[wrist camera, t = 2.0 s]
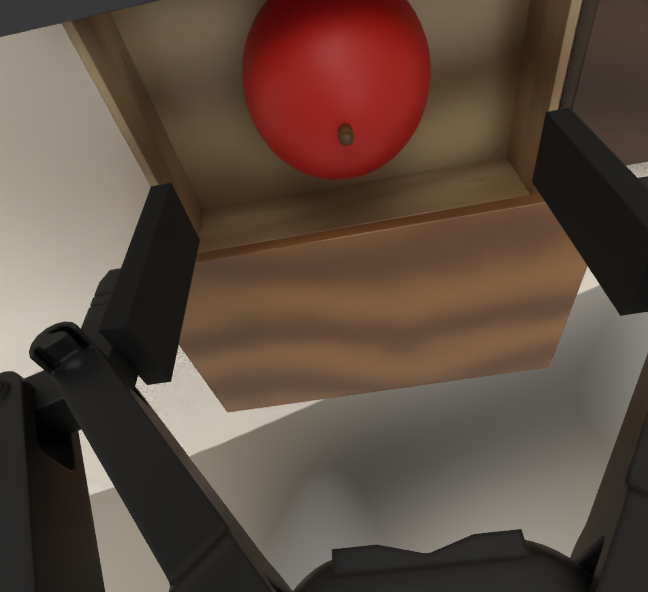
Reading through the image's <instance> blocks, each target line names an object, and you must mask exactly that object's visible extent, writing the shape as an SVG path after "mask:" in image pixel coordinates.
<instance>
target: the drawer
mask: <svg viewBox="0 0 648 592" xmlns="http://www.w3.org/2000/svg"><path fill="white" fill-rule="evenodd" d="M266 1H267V0H0V37H3V36H7V35H12V34H16V33H20V32H25V31H29V30H33V29H38V28H42V27H47V26H51V25H55V24H60V23H62V25H63V27H64V29H65V30H66V32H67V34H68V36H69V38H70V40H71V41H72V43H73V45H74V47H75V49H76V50H77V52H78V54H79V56H80V58H81V60H82V61H83V63H84V65H85V67H86V69H87V71H88V72H89V74H90V76H91V78H92V80H93V81H94V83H95V85H96V87H97V89H98V91H99V92H100V94H101V96H102V98H103V100H104V102H105V103H106V105H107V107H108V109H109V111H110V112H111V114H112V116H113V118H114V120H115V122H116V123H117V125H118V127H119V129H120V131H121V133H122V134H123V136H124V138H125V140H126V142H127V143H128V145H129V147H130V149H131V151H132V153H133V154H134V156H135V158H136V160H137V162H138V164H139V165H140V167H141V169H142V171H143V173H144V174H145V176H146V178H147V180H148V182H149V184H150V185H151V186H156V185H161V184H166V183H172V185H173V187H174V189H175V191H176V193H177V195H178V197H179V199H180V201H181V203H182V205H183V207H184V209H185V211H186V213H187V215H188V217H189V219H190V221H191V223H192V225H193V227H194V229H195V231H196V233H197V235H198V237H199V239H200V243H199V248H198V253H201V252H207V251H212V250H218V249H224V248H229V247H235V246H241V245H247V244H252V243H258V242H264V241H270V240H275V239H281V238H287V237H292V236H298V235H304V234H310V233H315V232H321V231H327V230H333V229H338V228H344V227H350V226H355V225H361V224H367V223H373V222H378V221H384V220H390V219H396V218H401V217H407V216H413V215H418V214H424V213H430V212H436V211H441V210H447V209H453V208H459V207H464V206H470V205H476V204H481V203H487V202H493V201H499V200H504V199H510V198H516V197H521V196H527V195H533V194H539V192H538V190H537V189H536V187H535V186H534V184H533V183H532V179H533V174H534V169H535V164H536V159H537V154H538V149H539V144H540V139H541V134H542V129H543V124H544V119H545V114H546V112H548V111H553V110H558V106H559V101H560V97H561V92H562V88H563V83H564V79H565V74H566V70H567V65H568V61H569V56H570V52H571V48H572V43H573V39H574V34H575V30H576V25H577V21H578V16H579V12H580V7H581V3H582V0H407V1H408V2H409V3H410V5H411V6H412V8H413V9H414V10H415V12H416V14H417V16H418V18H419V20H420V22H421V24H422V27H423V30H424V33H425V36H426V39H427V42H428V47H429V52H430V67H431V75H430V86H429V92H428V97H427V102H426V106H425V109H424V112H423V115H422V118H421V121H420V123H419V125H418V127H417V129H416V131H415V132H414V134H413V136H412V137H411V139H410V140H409V141H408V143H407V144H406V145H405V147H404V148H403V149H402V150H401V151H400V152H399V153H398V154H397V155H396V156H395V157H394V158H393V159H392V160H390V161H389V162H388V163H386V164H385V165H383V166H382V167H380V168H378V169H376V170H374V171H372V172H370V173H368V174H365V175H362V176H359V177H355V178H350V179H342V180H330V179H322V178H317V177H313V176H310V175H307V174H304V173H302V172H300V171H298V170H296V169H294V168H293V167H291V166H290V165H288V164H287V163H285V162H284V161H283V160H281V159H280V158H279V157H278V156H277V155H276V154H275V153H274V152H273V151H272V150H271V149H270V148H269V146H268V145H267V144H266V142H265V141H264V139H263V138H262V137H261V135H260V133H259V132H258V130H257V128H256V126H255V124H254V123H253V121H252V118H251V116H250V113H249V110H248V108H247V105H246V101H245V97H244V92H243V84H242V59H243V52H244V47H245V43H246V40H247V36H248V33H249V31H250V28H251V26H252V24H253V21H254V19H255V17H256V15H257V14H258V12H259V10H260V9H261V7H262V6H263V4H264V3H265V2H266Z"/></svg>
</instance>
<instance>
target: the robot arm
mask: <svg viewBox="0 0 648 592" xmlns="http://www.w3.org/2000/svg"><path fill="white" fill-rule="evenodd" d="M532 183H533V184H534V186H535V187H536V189H537V190H538V192H539V193H540V195H541V196H542V198H543V199H544V201H545V202H546V204H547V205H548V207H549V209H550V210H551V212H552V213H553V215H554V216H555V218H556V219H557V221H558V222H559V224H560V225H561V227H562V228H563V230H564V231H565V233H566V234H567V236H568V237H569V239H570V240H571V242H572V243H573V245H574V246H575V248H576V249H577V251H578V252H579V254H580V255H581V257H582V258H583V260H584V261H585V263H586V264H587V266H588V267H589V269H590V270H591V272H592V273H593V275H594V276H595V278H596V279H597V281H598V282H599V284H600V285H601V287H602V288H603V290H604V291H605V293H606V294H607V296H608V297H609V299H610V301H611V302H612V304H613V305H614V306H615V308H616V309H617V311H618V313H619V314H620V315H621V316H622V315H628V314H635V313H642V312H648V176H647V177H641V178H637V177H636V176H635V175H634V174H633V173H632V172H631V171H630V170H629V169H628V168H627V167H626V166H625V165H624V164H623V163H622V162H621V160H620V159H619V158H618V157H617V156H616V155H615V154H614V153H613V152H612V151H611V150H610V149H609V148H608V147H607V146H606V145H605V144H604V143H603V142H602V141H601V140H600V139H599V138H598V136H597V135H596V134H595V133H594V132H593V131H592V130H591V129H590V128H589V127H588V126H587V125H586V124H585V123H584V122H583V121H582V120H581V119H580V118H579V117H578V116H577V115H576V114H575V113H574V111H573V110H572V109H571V108H570V107H569V108H564V109H558V110H553V111H548V112H546V114H545V119H544V124H543V129H542V134H541V139H540V144H539V149H538V154H537V159H536V164H535V169H534V174H533V179H532ZM199 243H200V239H199V237H198V235H197V233H196V231H195V229H194V227H193V225H192V223H191V221H190V219H189V217H188V215H187V213H186V211H185V209H184V207H183V205H182V203H181V201H180V199H179V197H178V195H177V193H176V191H175V189H174V187H173V185H172V183H166V184H161V185H156V186H151V188H150V191H149V194H148V196H147V199H146V202H145V205H144V207H143V210H142V213H141V215H140V218H139V221H138V224H137V226H136V229H135V232H134V235H133V237H132V240H131V243H130V245H129V248H128V251H127V254H126V256H125V259H124V262H123V264H122V267H121V268H120V269H114V270H110V271H109V272H108V273H107V274H106V275H105V277H104V278H103V279H102V280H101V281H100V282H99V285H98V287H97V290H96V292H95V297H94V298H93V300H92V302H91V305H90V306H91V308H89V310H88V312H87V315H86V317H85V320H84V322H83V325H82V327H81V329H80V328H79V327H78V326H77V325H76V324H74V323H73V322H61V323H57V324H54V325H52V326H50V327H49V328H47V329H45V330H44V331H43V332H42V333H40V334H39V335H38V336H37V337H36V339H35V340H34V341H33V342H32V344H31V347H30V350H29V355H30V358H31V359H32V360H33V361H34V362H35V363H37V364H38V365H39V366H40V367H41V368H43V369H44V370H43V371H41V372H39V373H36V374H34V375H32V376H29V377H27V378H25V379H24V378H23V377H21V376H20V375H19V374H17V373H15V372H13V371H8V372H2V373H0V592H105V588H104V582H103V576H102V570H101V564H100V558H99V552H98V547H97V540H96V534H95V529H94V522H93V516H92V510H91V505H90V499H89V492H88V486H87V480H86V475H85V469H84V463H83V457H82V451H81V445H80V439H79V433H78V431H79V430H81V429H82V431H83V433H84V435H85V436H86V438H87V440H88V441H89V443H90V445H91V447H92V448H93V450H94V452H95V454H96V455H97V457H98V459H99V461H100V462H101V464H102V466H103V467H104V469H105V471H106V473H107V474H108V476H109V478H110V480H111V481H112V483H113V485H114V487H115V488H116V490H117V492H118V493H119V495H120V497H121V498H122V500H123V502H124V504H125V505H126V507H127V509H128V511H129V513H130V514H131V516H132V518H133V519H134V521H135V523H136V525H137V526H138V528H139V530H140V531H141V533H142V535H143V537H144V539H145V540H146V542H147V544H148V545H149V547H150V549H151V551H152V552H153V554H154V556H155V558H156V559H157V561H158V563H159V564H160V566H161V568H162V570H163V571H164V573H165V575H166V577H167V579H168V581H169V583H170V590H169V592H648V354H647V357H646V360H645V362H644V365H643V368H642V371H641V374H640V376H639V379H638V382H637V385H636V388H635V390H634V393H633V396H632V398H631V401H630V404H629V407H628V410H627V412H626V415H625V418H624V421H623V424H622V426H621V429H620V432H619V435H618V437H617V440H616V443H615V446H614V449H613V451H612V454H611V457H610V460H609V462H608V465H607V468H606V471H605V473H604V476H603V479H602V482H601V485H600V487H599V490H598V493H597V495H596V498H595V501H594V504H593V507H592V509H591V512H590V515H589V518H588V520H587V523H586V525H585V527H584V529H583V531H582V533H581V535H580V537H579V539H578V541H577V543H576V545H575V547H574V549H573V552H572V554H571V557H570V558H569V557H567V556H565V555H563V554H562V553H560V552H558V551H556V550H554V549H552V548H550V547H547V546H545V545H542V544H539V543H535V542H532V541H527V540H525V539H524V536H523V533H522V530H521V529H518V530H509V531H499V532H490V533H481V534H473V535H471V536H468V537H466V538H464V539H461V540H459V541H457V542H454V543H452V544H450V545H447V546H445V547H443V548H441V549H438V550H436V551H433V552H431V553H419V552H414V551H408V550H403V549H398V548H392V547H386V546H381V545H369V546H359V547H351V548H341V549H332V560H330V561H328V562H326V563H324V564H322V565H321V566H319V567H318V568H316V569H314V570H313V571H312V572H311V573H310V574H309V575H307V576H306V577H305V578H304V579H303V580H302V581H301V582H300V583H299V584H298V585H297V587H296V588H295V590H294V591H292V590H291V589H290V587H289V586H288V585H287V584H286V582H285V581H284V579H283V578H282V577H281V576H280V574H279V573H278V572H277V571H276V570H275V569H274V567H273V566H272V565H271V564H270V563H269V562H268V561H267V559H266V558H265V557H264V556H263V554H262V553H261V552H260V551H259V549H258V548H257V547H256V545H255V544H254V542H253V541H252V540H251V538H250V537H249V536H248V535H247V533H246V532H245V530H244V529H243V528H242V527H241V525H240V524H239V523H238V521H237V520H236V519H235V518H234V516H233V515H232V513H231V512H230V511H229V509H228V508H227V507H226V505H225V504H224V503H223V501H222V500H221V499H220V497H219V496H218V495H217V493H216V492H215V491H214V489H213V488H212V487H211V485H210V484H209V483H208V481H207V480H206V479H205V478H204V476H203V475H202V474H201V472H200V471H199V470H198V468H197V467H196V466H195V464H194V463H193V462H192V460H191V459H190V458H189V456H188V455H187V454H186V452H185V451H184V450H183V448H182V447H181V446H180V444H179V443H178V442H177V440H176V439H175V438H174V436H173V435H172V434H171V432H170V431H169V430H168V428H167V427H166V426H165V424H164V423H163V422H162V420H161V419H160V418H159V417H158V415H157V414H156V413H155V411H154V410H153V409H152V407H151V406H150V405H149V403H148V402H147V401H146V399H145V398H144V397H143V395H142V394H141V393H140V391H139V390H138V389H137V388H136V387H135V385H136V381H137V377H138V375H139V377H140V378H141V379H142V380H143V381H144V382H145V383H146V384H147V385H151V384H157V383H164V382H171V379H172V374H173V369H174V364H175V359H176V355H177V350H178V345H179V340H180V335H181V330H182V325H183V321H184V316H185V311H186V306H187V301H188V296H189V291H190V287H191V282H192V277H193V272H194V267H195V262H196V257H197V253H198V248H199Z"/></svg>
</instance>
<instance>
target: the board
mask: <svg viewBox="0 0 648 592" xmlns="http://www.w3.org/2000/svg"><path fill="white" fill-rule="evenodd" d="M569 107H570V108H571V109H572V110H573V111H574V113H575V114H576V115H577V116H578V117H579V118H580V119H581V120H582V121H583V122H584V123H585V124H586V125H587V126H588V127H589V128H590V129H591V130H592V131H593V132H594V133H595V134H596V135H597V136H598V138H599V139H600V140H601V141H602V142H603V143H604V144H605V145H606V146H607V147H608V148H609V149H610V150H611V151H612V152H613V153H614V154H615V155H616V156H617V157H618V158H619V159H620V160H621V162H622V163H623V164H624V165H630V164H636V163H642V162H647V161H648V0H583V5H582V9H581V13H580V18H579V22H578V27H577V31H576V36H575V40H574V44H573V49H572V53H571V58H570V62H569V67H568V71H567V75H566V80H565V84H564V89H563V93H562V98H561V102H560V107H559V109H564V108H569Z"/></svg>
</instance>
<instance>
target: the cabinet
mask: <svg viewBox="0 0 648 592" xmlns="http://www.w3.org/2000/svg"><path fill="white" fill-rule="evenodd" d="M586 269H587V264H586V263H585V261H584V260H583V258H582V257H581V255H580V254H579V252H578V251H577V249H576V248H575V246H574V245H573V243H572V242H571V240H570V239H569V237H568V236H567V234H566V233H565V231H564V230H563V228H562V227H561V225H560V224H559V222H558V221H557V219H556V218H555V216H554V215H553V213H552V212H551V210H550V209H549V207H548V205H547V204H546V202H545V201H544V199H543V198H542V196H541V195H540V193H539V194H533V195H527V196H521V197H516V198H510V199H504V200H499V201H493V202H487V203H481V204H476V205H470V206H464V207H459V208H453V209H447V210H441V211H436V212H430V213H424V214H418V215H413V216H407V217H401V218H396V219H390V220H384V221H378V222H373V223H367V224H361V225H355V226H350V227H344V228H338V229H333V230H327V231H321V232H315V233H310V234H304V235H298V236H292V237H287V238H281V239H275V240H270V241H264V242H258V243H252V244H247V245H241V246H235V247H229V248H224V249H218V250H212V251H207V252H201V253H197V257H196V262H195V267H194V272H193V277H192V282H191V287H190V291H189V296H188V301H187V306H186V311H185V316H184V321H183V325H182V330H181V335H180V340H179V345H180V347H181V348H182V350H183V351H184V352H185V354H186V355H187V357H188V358H189V359H190V361H191V362H192V364H193V365H194V366H195V368H196V369H197V371H198V372H199V373H200V375H201V376H202V377H203V379H204V380H205V382H206V383H207V384H208V386H209V387H210V389H211V390H212V391H213V393H214V394H215V396H216V397H217V398H218V400H219V401H220V403H221V404H222V405H223V407H224V408H225V409H226V411H227V412H234V411H241V410H248V409H255V408H263V407H270V406H277V405H284V404H291V403H298V402H305V401H312V400H319V399H326V398H334V397H341V396H348V395H355V394H362V393H369V392H376V391H383V390H390V389H398V388H405V387H412V386H419V385H426V384H433V383H440V382H447V381H454V380H461V379H469V378H475V377H482V376H489V375H496V374H503V373H511V372H518V371H525V370H533V369H540V368H547V367H550V364H551V362H552V359H553V356H554V354H555V351H556V348H557V345H558V343H559V340H560V338H561V335H562V332H563V330H564V327H565V324H566V322H567V319H568V316H569V314H570V311H571V308H572V306H573V303H574V300H575V298H576V295H577V292H578V290H579V287H580V285H581V282H582V279H583V277H584V274H585V271H586Z"/></svg>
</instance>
